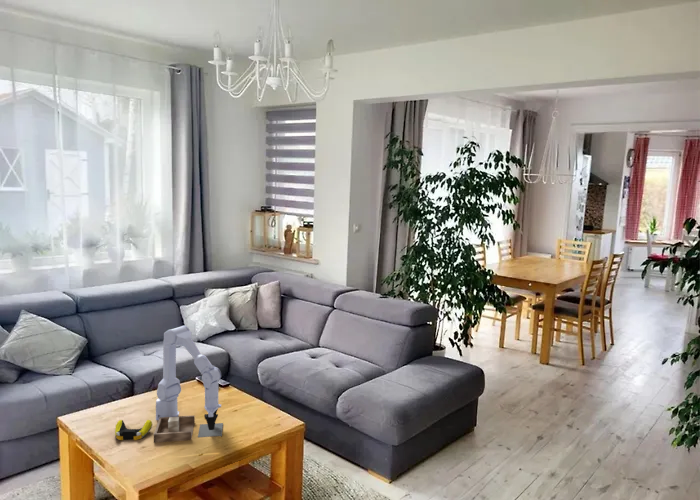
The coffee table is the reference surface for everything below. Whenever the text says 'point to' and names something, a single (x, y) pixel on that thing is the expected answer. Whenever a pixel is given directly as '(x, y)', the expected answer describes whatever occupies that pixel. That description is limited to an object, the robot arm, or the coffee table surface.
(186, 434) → the crate
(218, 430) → the mat
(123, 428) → the gaming controller
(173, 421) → the block
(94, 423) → the coffee table surface
